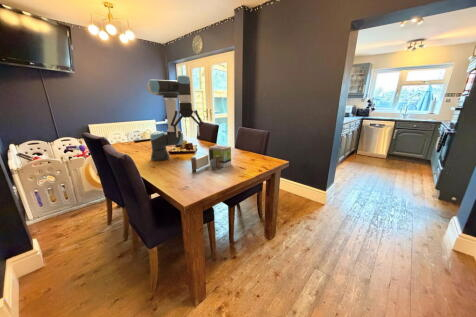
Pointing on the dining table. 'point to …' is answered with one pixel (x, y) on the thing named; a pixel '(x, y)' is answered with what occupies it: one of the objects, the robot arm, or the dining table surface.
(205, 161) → the cream flat block
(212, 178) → the dining table surface
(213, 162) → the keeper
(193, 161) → the hinge post
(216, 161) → the post
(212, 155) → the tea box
